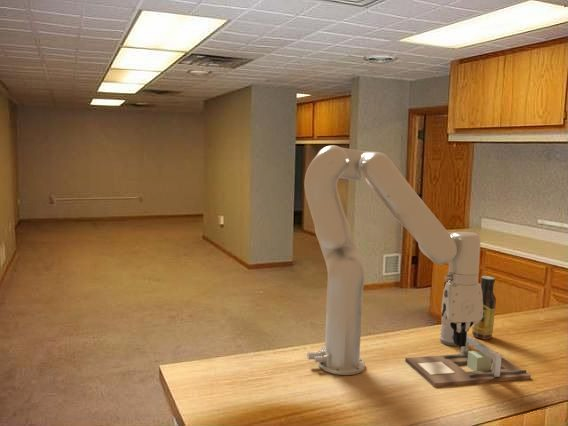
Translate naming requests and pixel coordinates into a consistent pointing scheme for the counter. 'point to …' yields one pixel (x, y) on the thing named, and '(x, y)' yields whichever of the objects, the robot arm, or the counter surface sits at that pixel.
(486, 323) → the sauce bottle
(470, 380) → the board
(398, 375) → the counter surface
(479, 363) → the block
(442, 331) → the travel mug
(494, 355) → the gate
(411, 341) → the counter surface
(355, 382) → the counter surface
